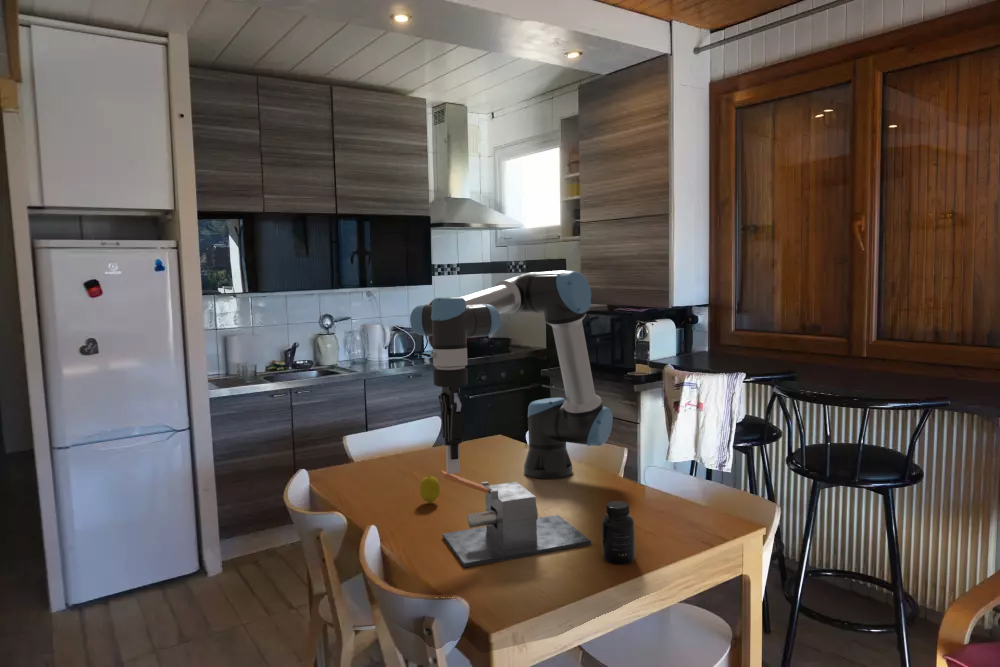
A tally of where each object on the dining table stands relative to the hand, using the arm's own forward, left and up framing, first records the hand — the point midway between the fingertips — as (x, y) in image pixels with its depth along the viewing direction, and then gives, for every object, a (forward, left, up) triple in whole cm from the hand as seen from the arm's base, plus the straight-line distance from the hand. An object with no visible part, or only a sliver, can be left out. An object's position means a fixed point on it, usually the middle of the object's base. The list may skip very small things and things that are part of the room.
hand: (453, 472), depth 146 cm
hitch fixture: (-13, 0, -18) cm, 22 cm away
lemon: (-2, -34, -18) cm, 39 cm away
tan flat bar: (-3, 0, -3) cm, 5 cm away
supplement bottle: (-31, +18, -18) cm, 40 cm away
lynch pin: (-11, 0, -14) cm, 18 cm away
